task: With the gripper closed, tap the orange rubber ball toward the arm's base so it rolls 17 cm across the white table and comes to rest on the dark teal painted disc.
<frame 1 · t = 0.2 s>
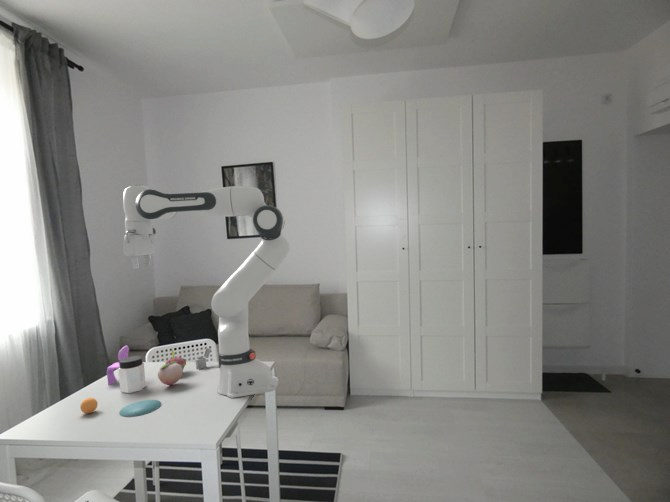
hand: (141, 267, 147), 48 cm above the table, tool pointing down, fingers open, 8 cm apart
lighter: (204, 367, 180), on the table
decorative fruit: (172, 386, 158), on the table
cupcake: (176, 374, 172), on the table
ball: (89, 405, 137), on the table
jar: (133, 389, 157), on the table
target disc: (140, 408, 138), on the table
toy chair: (121, 382, 167), on the table
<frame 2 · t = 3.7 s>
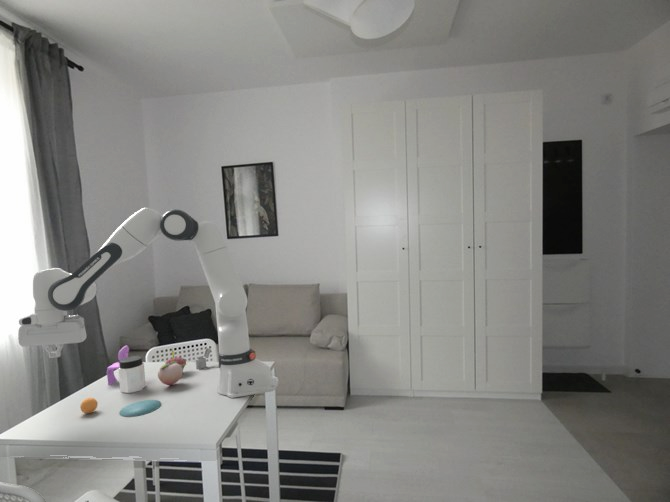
hand: (54, 357, 136), 20 cm above the table, tool pointing down, fingers closed
nothing on the table moved.
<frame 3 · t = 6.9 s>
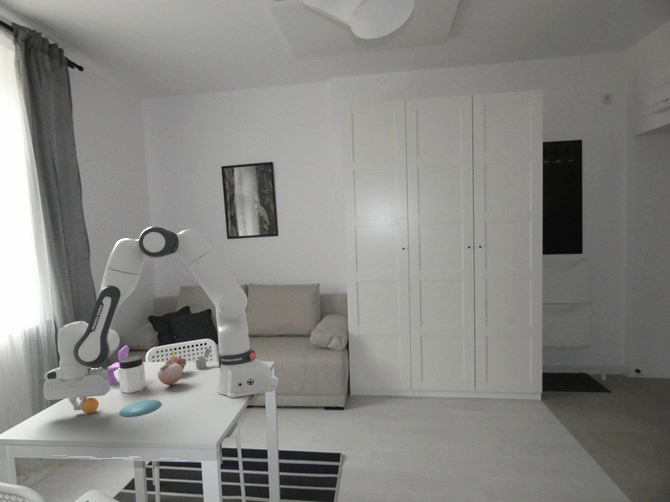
hand: (79, 409, 137), 1 cm above the table, tool pointing down, fingers closed
ball: (90, 405, 137), on the table, touching gripper
everything else where it was.
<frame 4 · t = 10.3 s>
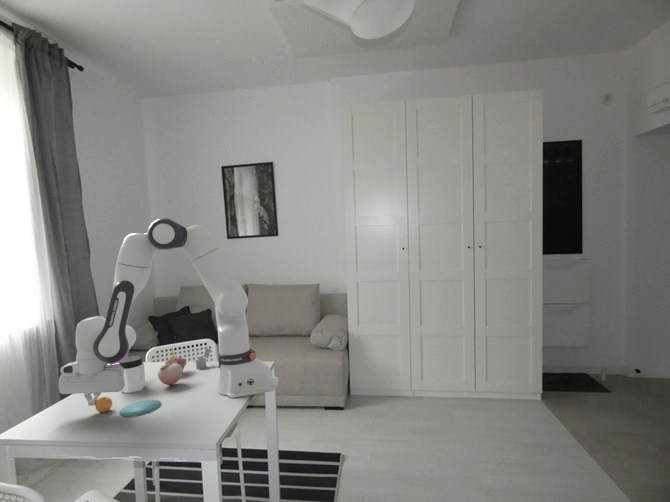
hand: (93, 404, 137), 3 cm above the table, tool pointing down, fingers closed
ball: (103, 404, 137), on the table, touching gripper
everything else where it was.
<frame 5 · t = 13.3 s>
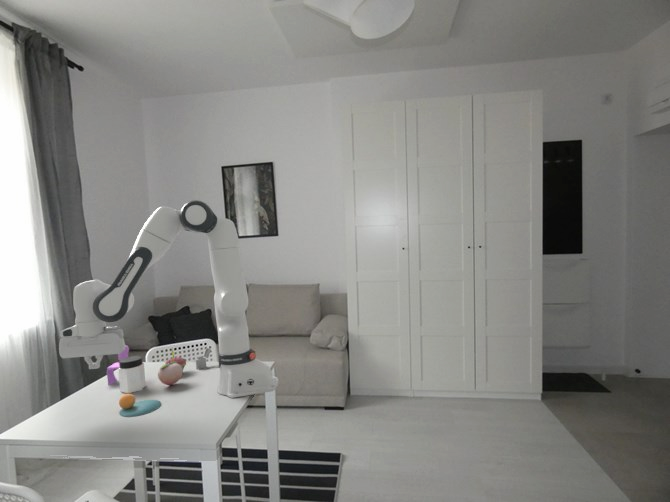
hand: (94, 368, 137), 15 cm above the table, tool pointing down, fingers closed
ball: (127, 401, 138), on the table
everything else where it was.
at the end: ball 4.7 cm from the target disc (horizontally); ball at rest at the end (0.0 cm/s); ball moved 12.4 cm from its start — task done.
